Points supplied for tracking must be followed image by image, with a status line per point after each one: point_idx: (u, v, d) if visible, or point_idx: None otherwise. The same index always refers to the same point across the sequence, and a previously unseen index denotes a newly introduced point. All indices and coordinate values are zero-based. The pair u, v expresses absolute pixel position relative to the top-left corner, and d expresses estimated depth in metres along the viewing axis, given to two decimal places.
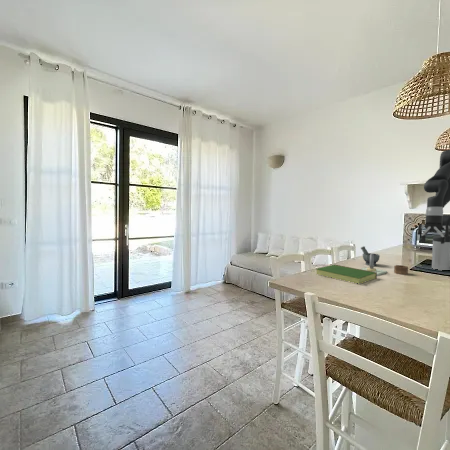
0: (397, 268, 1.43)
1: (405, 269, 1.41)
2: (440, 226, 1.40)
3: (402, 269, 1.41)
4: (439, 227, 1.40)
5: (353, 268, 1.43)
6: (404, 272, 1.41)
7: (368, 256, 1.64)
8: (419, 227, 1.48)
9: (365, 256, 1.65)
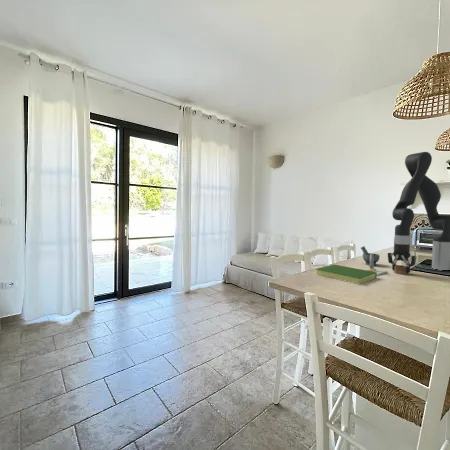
0: (397, 268, 1.43)
1: (405, 269, 1.41)
2: (407, 255, 1.40)
3: (402, 269, 1.41)
4: (406, 256, 1.41)
5: (353, 268, 1.43)
6: (404, 272, 1.41)
7: (368, 256, 1.64)
8: (388, 255, 1.48)
9: (365, 256, 1.65)
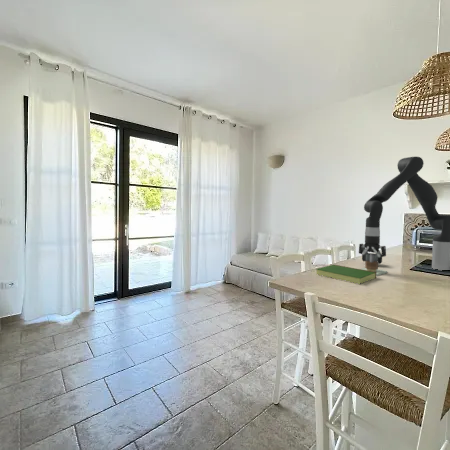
0: (367, 263, 1.46)
1: (375, 264, 1.44)
2: (377, 246, 1.43)
3: (372, 264, 1.44)
4: (376, 247, 1.43)
5: (352, 268, 1.44)
6: (374, 267, 1.44)
7: (368, 256, 1.64)
8: (360, 246, 1.51)
9: None
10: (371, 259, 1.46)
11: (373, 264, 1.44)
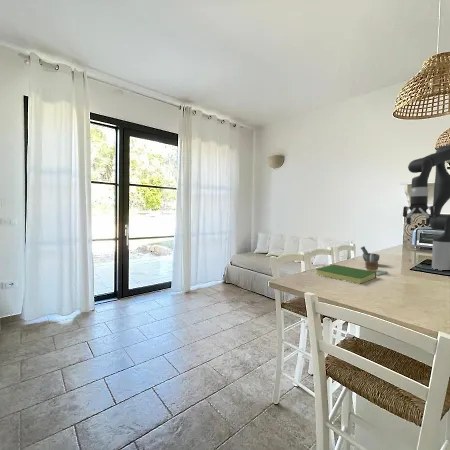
0: (367, 263, 1.46)
1: (375, 264, 1.44)
2: (425, 207, 1.36)
3: (372, 264, 1.44)
4: (424, 208, 1.36)
5: (352, 268, 1.44)
6: (374, 267, 1.44)
7: (368, 256, 1.64)
8: (404, 209, 1.44)
9: (365, 256, 1.65)
10: (371, 259, 1.46)
11: (373, 264, 1.44)
